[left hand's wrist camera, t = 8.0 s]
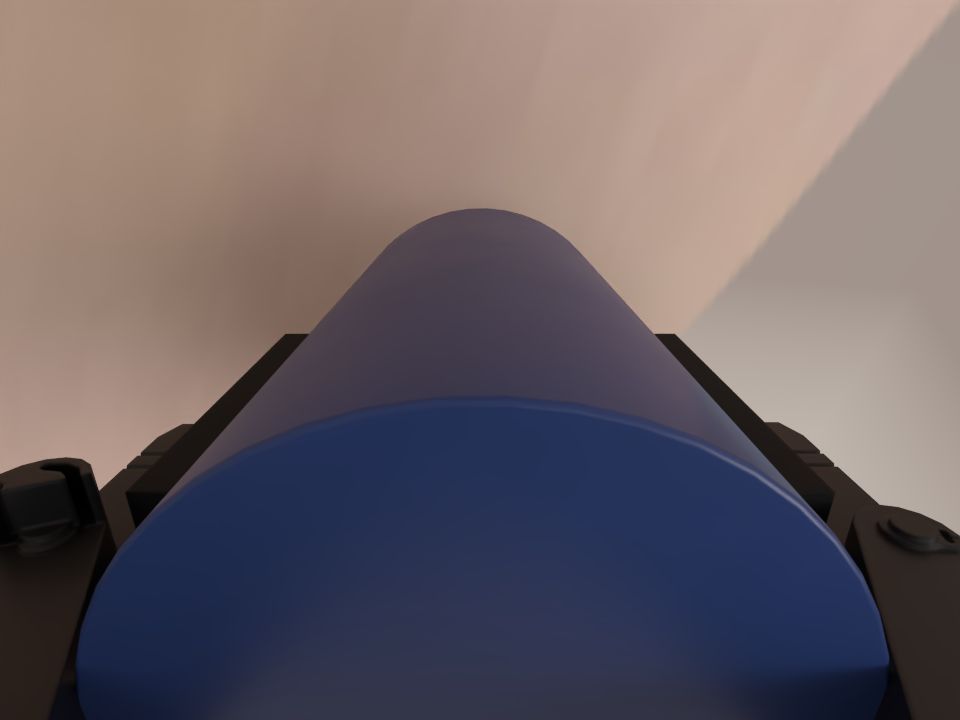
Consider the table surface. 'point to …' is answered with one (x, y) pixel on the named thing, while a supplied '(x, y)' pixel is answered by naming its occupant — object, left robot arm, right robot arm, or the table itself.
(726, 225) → the table surface
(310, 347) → the canister
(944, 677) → the left robot arm
